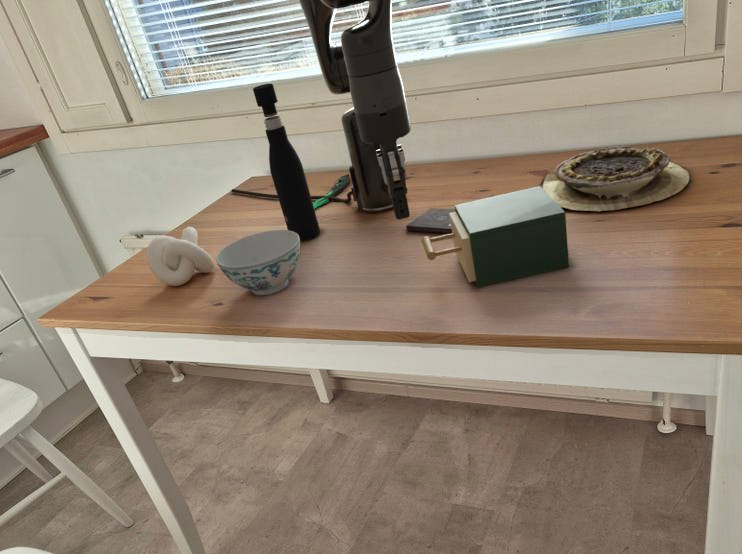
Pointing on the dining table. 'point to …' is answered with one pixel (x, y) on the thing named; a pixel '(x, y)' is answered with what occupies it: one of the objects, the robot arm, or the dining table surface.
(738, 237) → the dining table surface
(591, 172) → the pie
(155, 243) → the white knot sculpture
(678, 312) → the dining table surface
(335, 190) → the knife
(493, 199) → the cabinet
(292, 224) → the black water bottle
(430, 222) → the chocolate bar
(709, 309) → the dining table surface
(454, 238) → the drawer
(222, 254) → the chinaware
